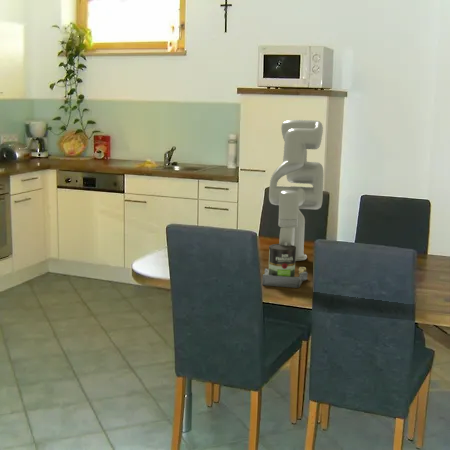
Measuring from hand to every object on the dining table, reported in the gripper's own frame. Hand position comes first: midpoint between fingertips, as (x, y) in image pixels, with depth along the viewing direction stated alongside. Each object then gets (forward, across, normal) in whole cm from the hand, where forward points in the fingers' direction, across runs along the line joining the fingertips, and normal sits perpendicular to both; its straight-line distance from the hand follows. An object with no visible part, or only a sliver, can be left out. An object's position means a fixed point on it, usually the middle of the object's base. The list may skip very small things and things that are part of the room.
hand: (286, 267), depth 272 cm
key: (+4, -9, +5) cm, 11 cm away
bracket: (+4, +8, 0) cm, 9 cm away
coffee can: (+4, +8, -1) cm, 9 cm away
